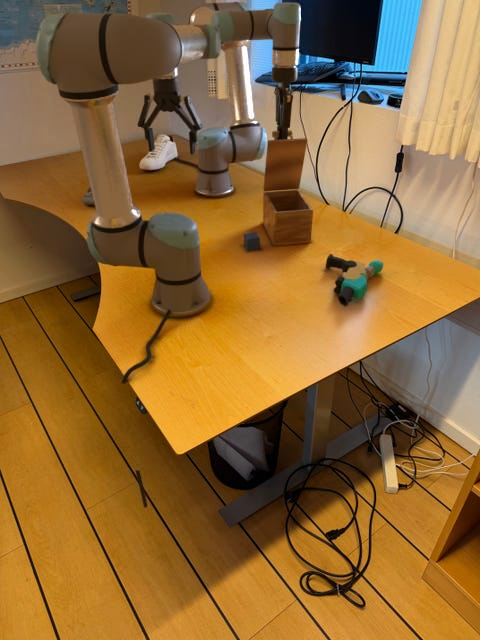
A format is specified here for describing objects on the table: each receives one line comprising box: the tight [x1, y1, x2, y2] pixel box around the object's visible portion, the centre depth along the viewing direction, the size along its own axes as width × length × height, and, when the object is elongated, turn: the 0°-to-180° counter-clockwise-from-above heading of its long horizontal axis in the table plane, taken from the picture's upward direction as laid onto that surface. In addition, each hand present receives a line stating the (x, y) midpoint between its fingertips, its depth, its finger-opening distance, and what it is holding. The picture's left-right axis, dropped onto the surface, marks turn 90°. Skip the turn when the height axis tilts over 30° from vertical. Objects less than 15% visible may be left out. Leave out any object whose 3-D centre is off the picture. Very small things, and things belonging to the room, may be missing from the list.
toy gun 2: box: [325, 253, 385, 307], centre depth 130 cm, size 4×26×15 cm
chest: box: [262, 189, 314, 247], centre depth 156 cm, size 18×12×11 cm
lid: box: [262, 129, 308, 192], centre depth 154 cm, size 18×12×8 cm
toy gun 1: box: [81, 186, 95, 206], centre depth 181 cm, size 4×19×15 cm
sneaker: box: [139, 133, 179, 171], centre depth 214 cm, size 10×29×12 cm, turn 163°
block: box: [243, 231, 261, 252], centre depth 149 cm, size 4×4×4 cm
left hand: (172, 151), depth 149 cm, fingers open, 13 cm apart
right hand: (281, 148), depth 153 cm, fingers closed on lid, 2 cm apart
